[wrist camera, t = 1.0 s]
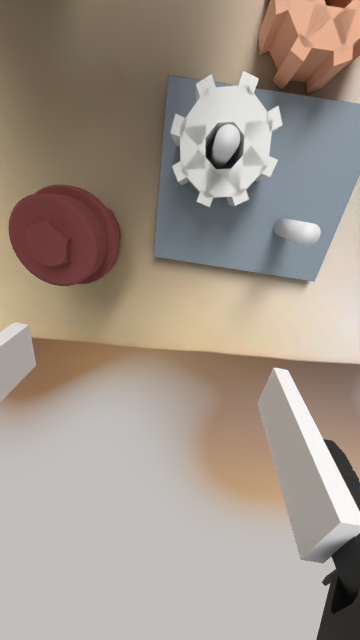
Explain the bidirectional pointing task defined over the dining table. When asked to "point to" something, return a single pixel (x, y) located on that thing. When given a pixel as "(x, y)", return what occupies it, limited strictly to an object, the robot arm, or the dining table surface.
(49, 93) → the dining table surface
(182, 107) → the gear board
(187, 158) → the white gear
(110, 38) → the dining table surface
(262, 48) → the terracotta gear
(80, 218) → the mechanical component
